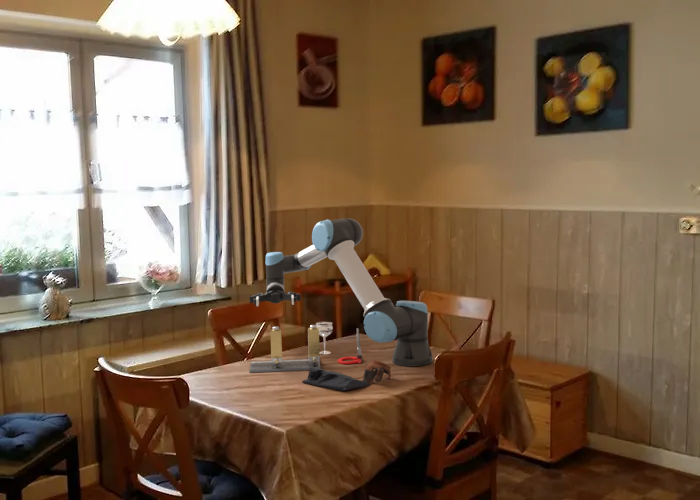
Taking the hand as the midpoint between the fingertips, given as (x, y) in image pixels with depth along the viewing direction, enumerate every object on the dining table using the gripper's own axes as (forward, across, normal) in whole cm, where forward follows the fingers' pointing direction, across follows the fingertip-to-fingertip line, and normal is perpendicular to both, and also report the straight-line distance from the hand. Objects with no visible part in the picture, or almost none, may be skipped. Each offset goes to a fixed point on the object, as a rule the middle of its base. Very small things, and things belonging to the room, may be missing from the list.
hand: (275, 302), depth 290 cm
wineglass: (-8, -19, -23) cm, 31 cm away
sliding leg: (+11, 0, -21) cm, 24 cm away
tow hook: (+6, -28, -24) cm, 37 cm away
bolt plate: (+10, -3, -23) cm, 25 cm away
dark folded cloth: (+34, -20, -24) cm, 46 cm away
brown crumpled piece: (+33, -35, -24) cm, 54 cm away
